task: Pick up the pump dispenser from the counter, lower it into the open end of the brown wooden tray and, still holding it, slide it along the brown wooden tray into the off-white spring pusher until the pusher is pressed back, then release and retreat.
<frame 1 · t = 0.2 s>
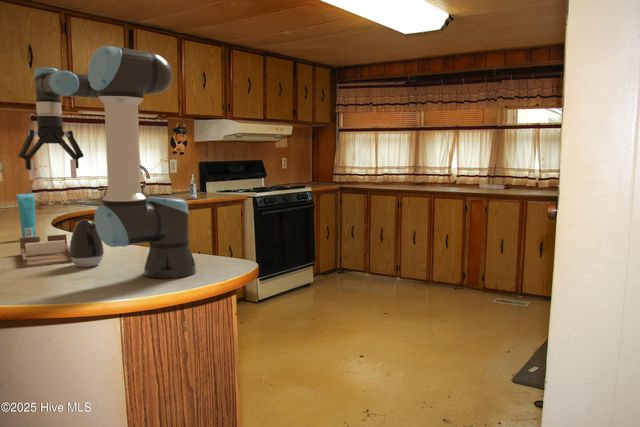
hand: (53, 179, 179), 27 cm above the table, fingers open, 13 cm apart
brown wooden tray: (47, 258, 182), on the table
tube: (29, 240, 218), on the table
pusher: (44, 246, 187), point 3 cm above the table, slide at 0.0 cm
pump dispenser: (87, 266, 170), on the table
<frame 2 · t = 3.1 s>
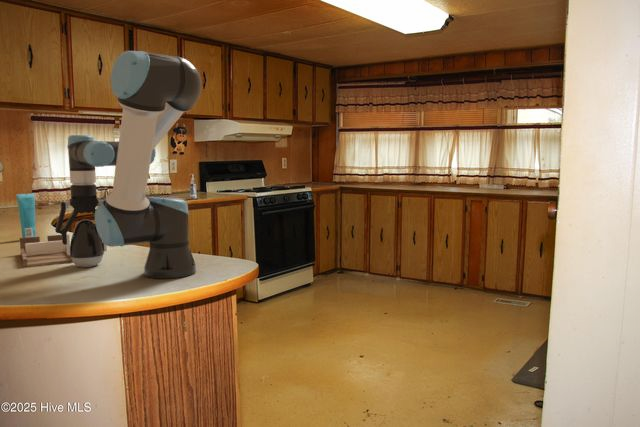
hand: (87, 252, 170), 4 cm above the table, fingers closed on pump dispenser, 10 cm apart
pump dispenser: (88, 266, 170), on the table, touching gripper
everything else where it was.
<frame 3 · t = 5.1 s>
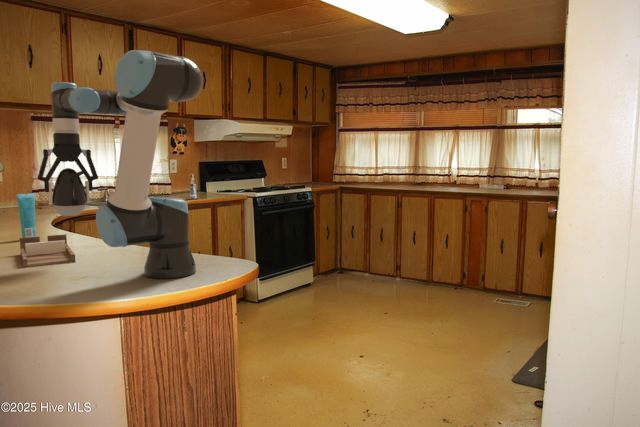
hand: (69, 201, 170), 21 cm above the table, fingers closed on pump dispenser, 10 cm apart
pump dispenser: (70, 215, 171), point 16 cm above the table, touching gripper
everything else where it was.
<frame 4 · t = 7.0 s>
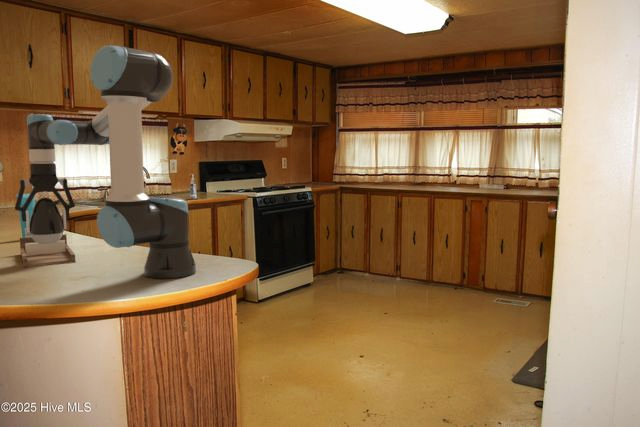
hand: (46, 230, 174), 11 cm above the table, fingers closed on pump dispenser, 10 cm apart
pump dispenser: (48, 243, 174), point 6 cm above the table, touching gripper
everything else where it was.
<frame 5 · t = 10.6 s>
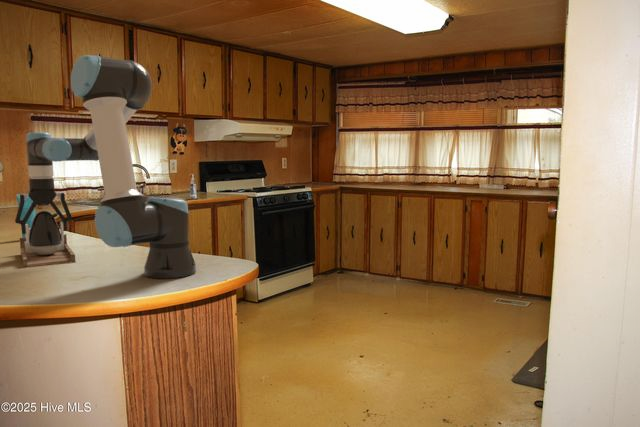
hand: (45, 241, 183), 5 cm above the table, fingers closed on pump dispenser, 10 cm apart
pusher: (44, 244, 191), point 3 cm above the table, slide at 4.1 cm, touching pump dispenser
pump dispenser: (46, 254, 183), point 1 cm above the table, touching gripper, pusher
everything else where it was.
when the fingers open (5 cm above the table, at t = 10.9 s): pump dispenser stays where it is, resting on brown wooden tray, pusher.
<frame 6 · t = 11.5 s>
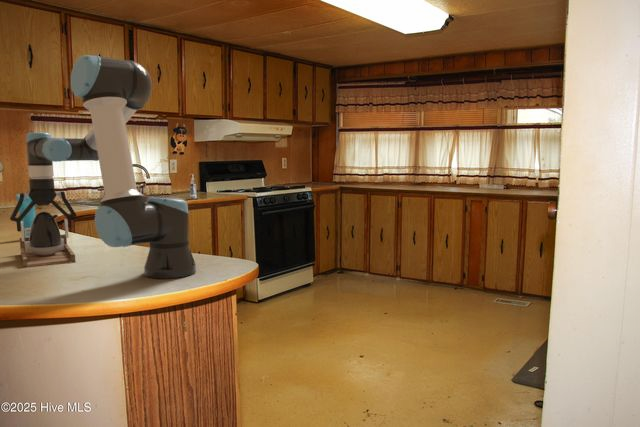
hand: (45, 239, 183), 6 cm above the table, fingers open, 13 cm apart
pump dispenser: (46, 254, 184), point 1 cm above the table, touching brown wooden tray, pusher
everything else where it was.
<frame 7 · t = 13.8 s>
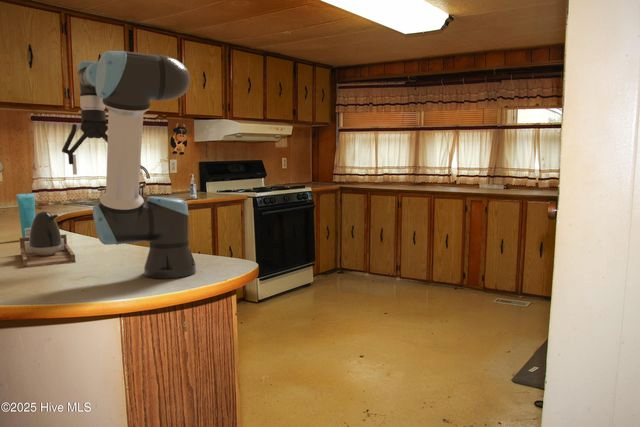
hand: (97, 174, 176), 29 cm above the table, fingers open, 13 cm apart
nothing on the table moved.
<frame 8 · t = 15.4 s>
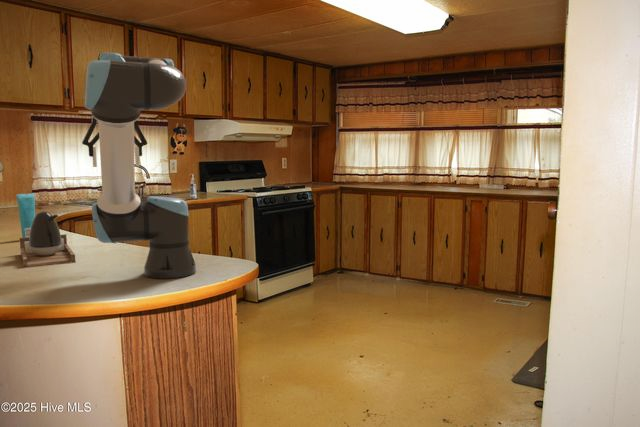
hand: (116, 166, 176), 32 cm above the table, fingers open, 13 cm apart
nothing on the table moved.
at the end: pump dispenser inside the target area (0.2 cm from its centre), point 0.8 cm above the table; pusher slide at 4.2 cm; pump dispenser tilted 3° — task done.
